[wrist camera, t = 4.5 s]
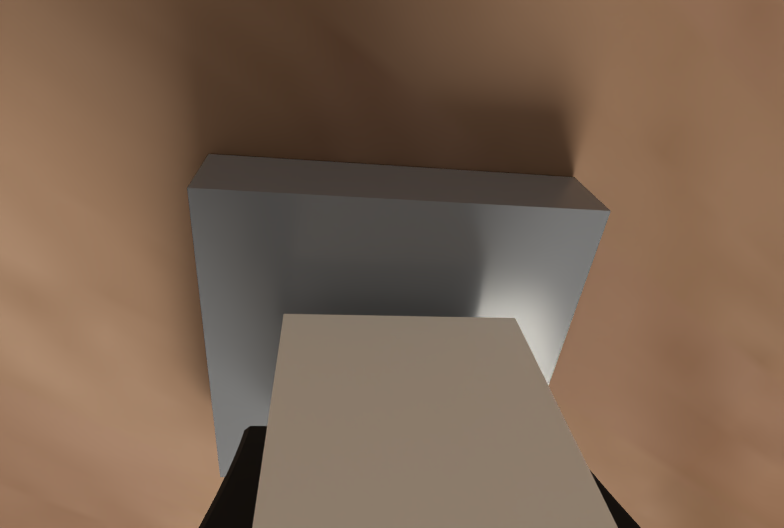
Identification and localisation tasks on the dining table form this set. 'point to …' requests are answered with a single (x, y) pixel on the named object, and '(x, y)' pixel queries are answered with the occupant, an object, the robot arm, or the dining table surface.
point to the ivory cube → (418, 429)
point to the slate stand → (375, 259)
